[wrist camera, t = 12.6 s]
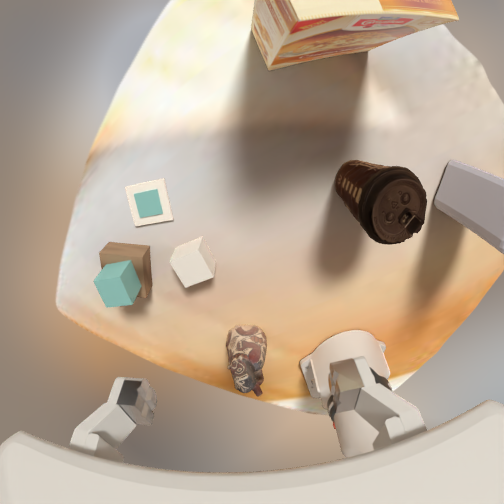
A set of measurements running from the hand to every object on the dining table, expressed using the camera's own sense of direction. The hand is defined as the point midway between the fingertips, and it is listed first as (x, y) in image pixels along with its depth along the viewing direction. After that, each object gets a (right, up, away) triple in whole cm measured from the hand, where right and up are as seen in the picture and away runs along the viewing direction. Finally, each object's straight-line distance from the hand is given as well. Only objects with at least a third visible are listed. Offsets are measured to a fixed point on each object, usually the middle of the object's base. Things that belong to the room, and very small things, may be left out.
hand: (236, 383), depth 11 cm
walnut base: (-19, +4, +30) cm, 36 cm away
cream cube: (-8, +5, +30) cm, 31 cm away
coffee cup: (+15, +15, +25) cm, 33 cm away
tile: (-14, +12, +25) cm, 32 cm away
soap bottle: (+35, +16, +26) cm, 47 cm away
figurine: (0, -10, +38) cm, 39 cm away
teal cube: (-18, +2, +26) cm, 32 cm away
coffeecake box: (+9, +33, +16) cm, 38 cm away
